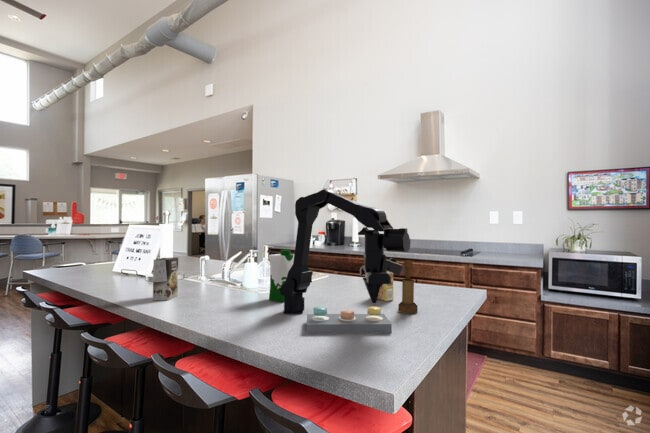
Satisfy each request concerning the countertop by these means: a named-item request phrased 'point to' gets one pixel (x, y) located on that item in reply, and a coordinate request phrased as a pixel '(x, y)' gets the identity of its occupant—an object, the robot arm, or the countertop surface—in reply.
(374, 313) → the mustard button
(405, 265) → the brown stepped post
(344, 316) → the terracotta button
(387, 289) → the candy box
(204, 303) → the countertop surface
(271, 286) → the milk carton
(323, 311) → the teal button
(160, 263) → the coffee box
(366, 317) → the button console
